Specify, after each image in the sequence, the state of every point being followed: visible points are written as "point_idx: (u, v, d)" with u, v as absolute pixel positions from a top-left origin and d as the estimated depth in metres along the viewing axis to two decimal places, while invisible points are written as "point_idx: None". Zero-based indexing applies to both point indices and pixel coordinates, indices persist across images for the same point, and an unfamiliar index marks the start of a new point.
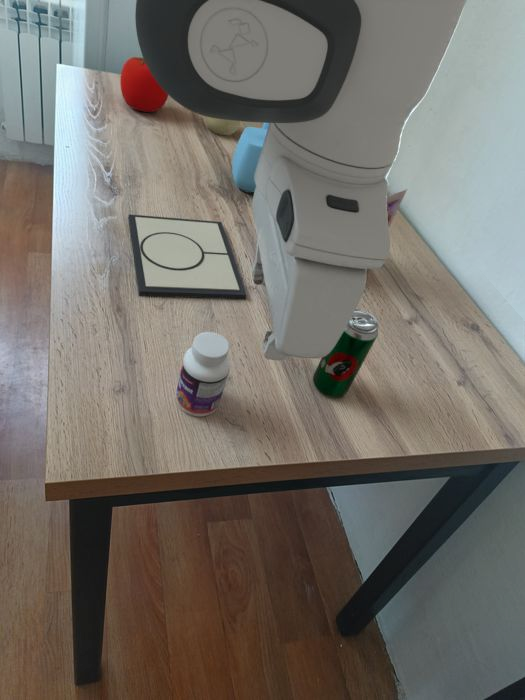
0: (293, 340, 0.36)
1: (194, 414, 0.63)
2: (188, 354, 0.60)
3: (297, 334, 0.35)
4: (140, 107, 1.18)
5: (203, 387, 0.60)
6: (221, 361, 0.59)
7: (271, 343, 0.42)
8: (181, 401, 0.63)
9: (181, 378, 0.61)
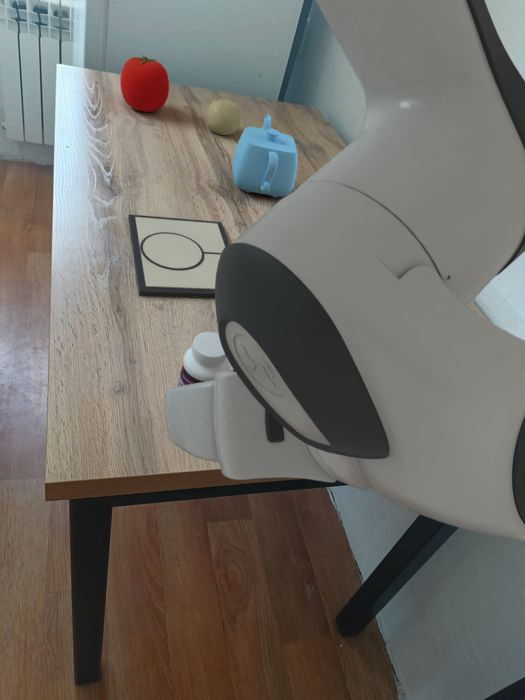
0: (169, 399, 0.37)
1: None
2: (188, 354, 0.60)
3: (172, 401, 0.37)
4: (140, 107, 1.18)
5: None
6: (221, 361, 0.59)
7: None
8: None
9: (181, 378, 0.61)
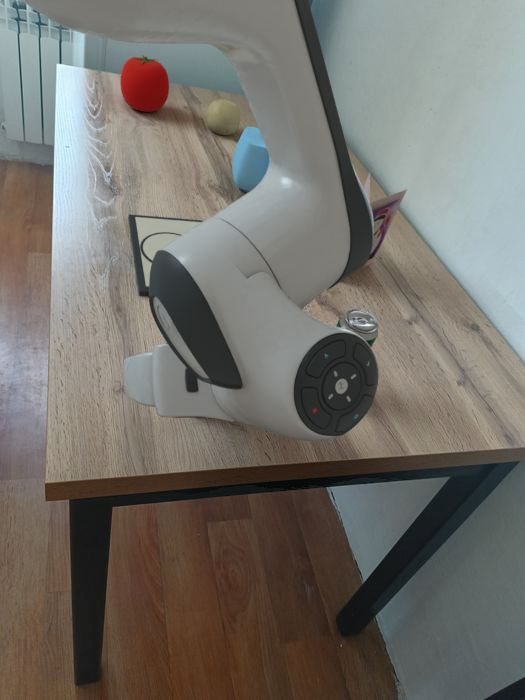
0: (125, 365, 0.52)
1: None
2: None
3: (127, 366, 0.51)
4: (140, 107, 1.18)
5: None
6: None
7: None
8: None
9: None
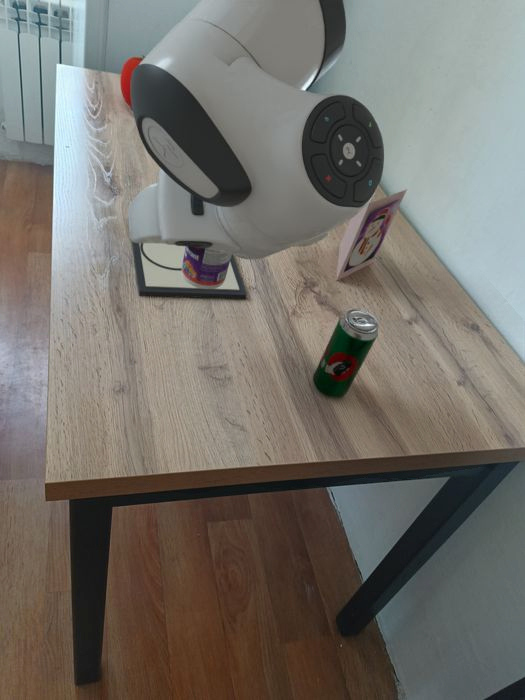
0: (130, 208, 0.52)
1: (200, 286, 0.63)
2: None
3: (132, 208, 0.51)
4: None
5: (209, 251, 0.60)
6: None
7: None
8: (187, 272, 0.63)
9: None
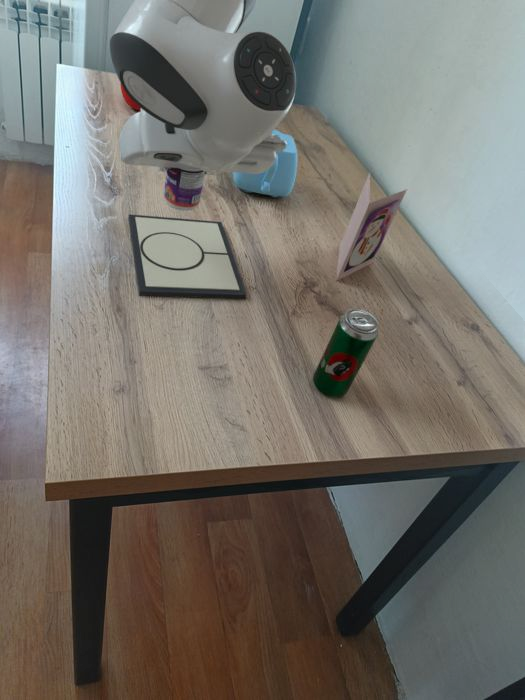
0: (121, 135, 0.67)
1: (178, 207, 0.79)
2: None
3: (122, 134, 0.67)
4: None
5: (184, 176, 0.75)
6: None
7: None
8: (167, 196, 0.78)
9: (167, 173, 0.77)
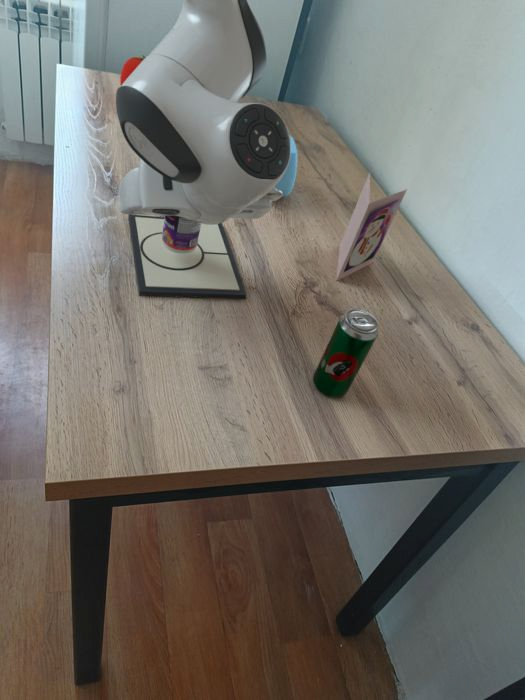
0: (120, 187, 0.69)
1: (176, 250, 0.80)
2: None
3: (121, 186, 0.68)
4: None
5: (182, 222, 0.77)
6: None
7: None
8: (165, 240, 0.80)
9: (165, 218, 0.78)
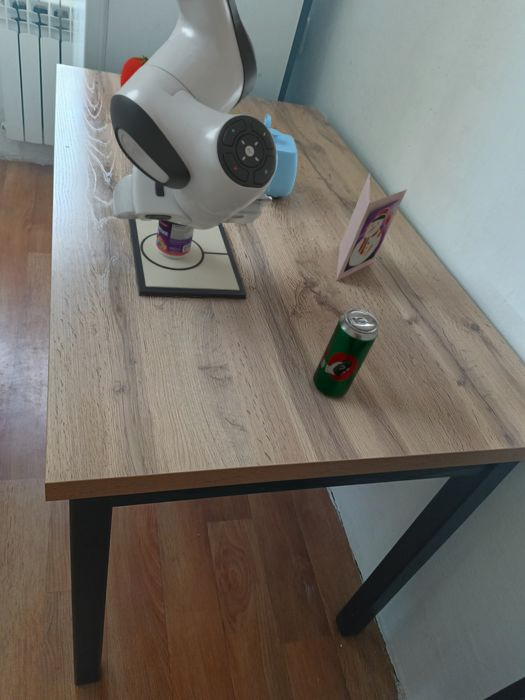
0: (114, 192, 0.71)
1: (169, 256, 0.82)
2: None
3: (115, 192, 0.70)
4: None
5: (175, 228, 0.79)
6: None
7: None
8: (159, 245, 0.82)
9: (159, 224, 0.80)
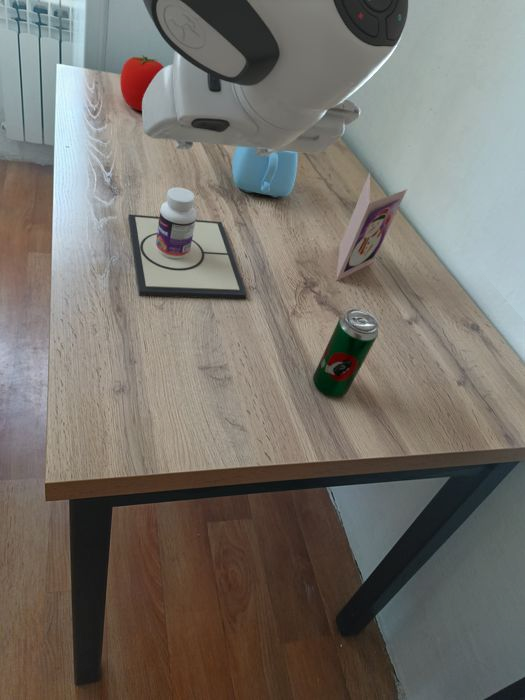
0: (144, 98, 0.51)
1: (169, 256, 0.82)
2: (163, 204, 0.79)
3: (146, 97, 0.50)
4: (140, 107, 1.18)
5: (175, 228, 0.79)
6: (188, 207, 0.78)
7: None
8: (159, 245, 0.82)
9: (159, 224, 0.80)
